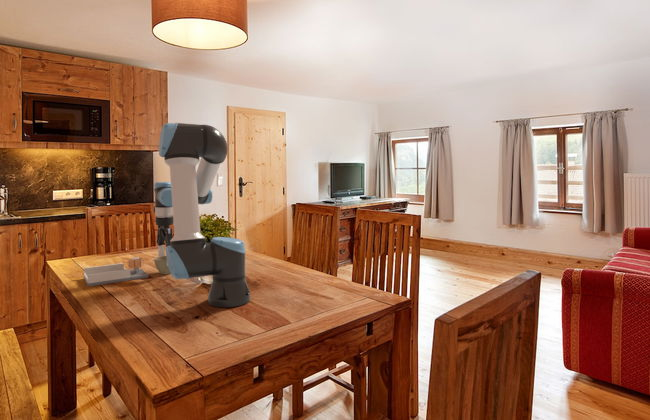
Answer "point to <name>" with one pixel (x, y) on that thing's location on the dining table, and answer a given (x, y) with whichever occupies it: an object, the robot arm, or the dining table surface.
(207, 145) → the robot arm
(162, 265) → the flower pot
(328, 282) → the dining table surface
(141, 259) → the wheel
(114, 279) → the chassis
